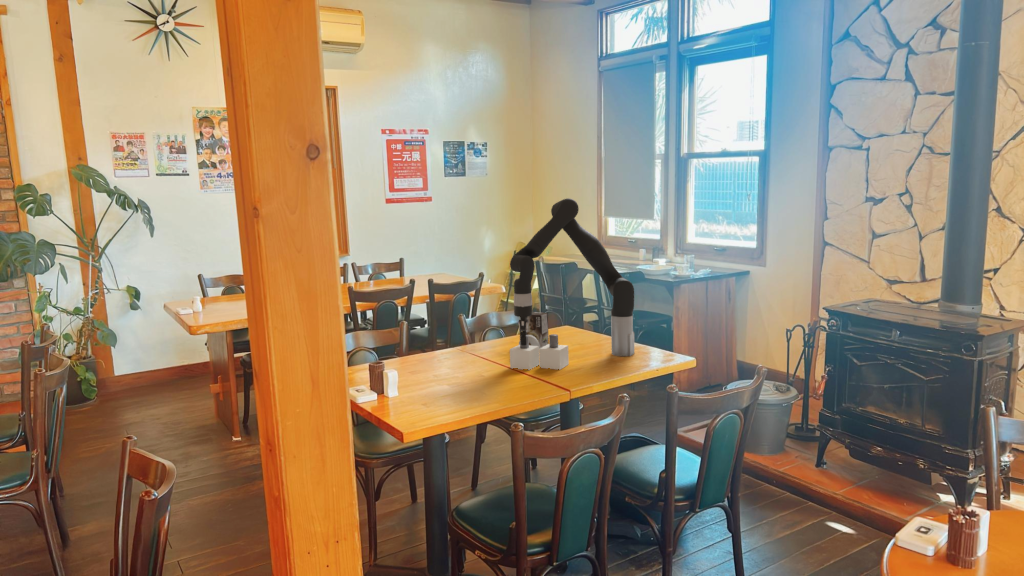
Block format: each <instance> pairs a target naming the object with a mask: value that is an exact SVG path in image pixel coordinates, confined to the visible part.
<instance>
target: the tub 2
mask: <svg viewBox="0 0 1024 576" xmlns="http://www.w3.org/2000/svg"><path fill="white" fill-rule="evenodd" d="M548 335H549V344H547V345H545V346H543V347H542V348H540V349H539V368H540V367H541V368H540V369H548V368H550V369H549V370H558V369H559V371H560V370H562V369H563V368H565V367H568V366H569V365H570V361H569V345H564V344H559V335H558V334H556V333H555V334H554V333H553V334H551V333H550V334H548Z"/></svg>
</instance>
